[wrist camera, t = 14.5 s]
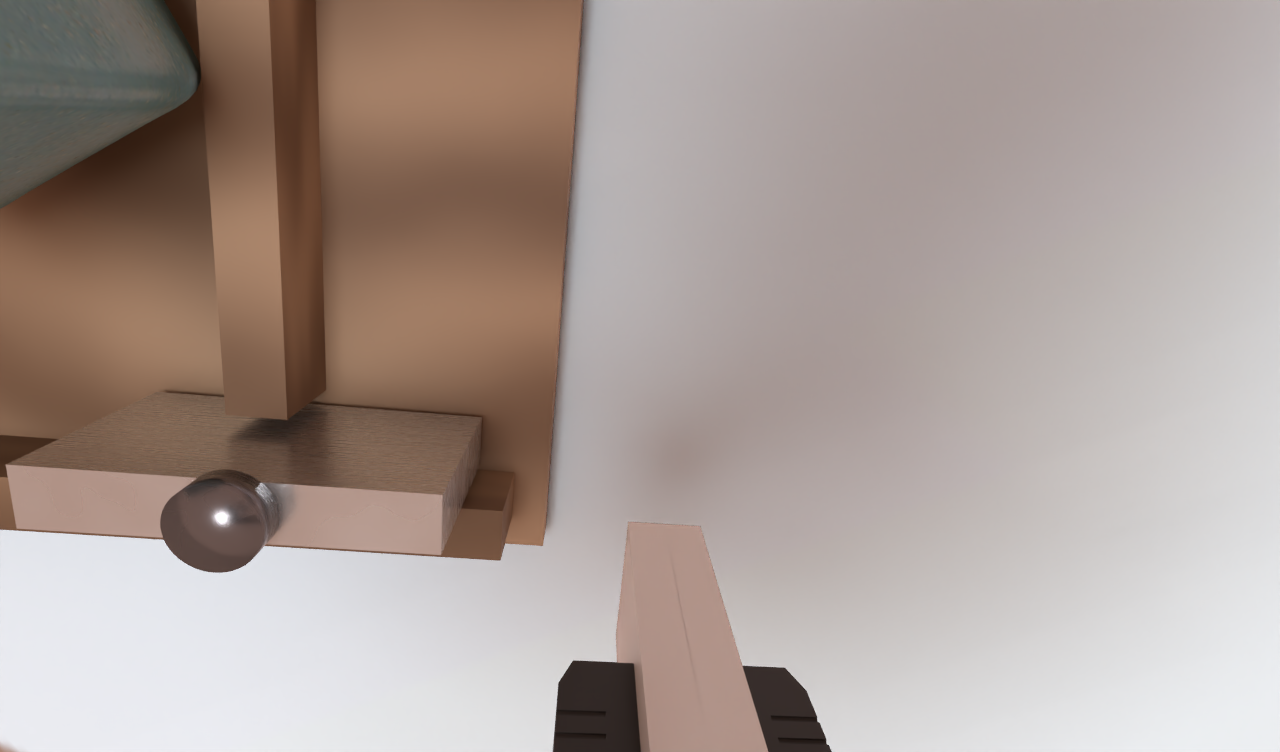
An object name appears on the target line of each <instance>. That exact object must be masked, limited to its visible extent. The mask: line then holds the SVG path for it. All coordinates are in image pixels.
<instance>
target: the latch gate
mask: <svg viewBox="0 0 1280 752" xmlns="http://www.w3.org/2000/svg"><path fill="white" fill-rule="evenodd" d="M481 427H482V417H472V416H459V415H447V414H434V413H421V412H408V411H396V410H383V409H370V408H357V407H345V406H332V405H319V404H307V405H306V406H305V407H303V408H302V409H301V410H300V411H298V412H297V413H296V414H294V415H293V416H292V417H290V418H289V419H288V420H283V419H270V418H257V417H244V416H231V415H226V414H225V400H224V397H217V396H205V395H192V394H179V393H166V392H156V393H154V394H151V395H149V396H147V397H145V398H143V399H141V400H139V401H137V402H135V403H133V404H131V405H129V406H127V407H124V408H122V409H120V410H118V411H116V412H114V413H112V414H110V415H108V416H106V417H104V418H102V419H99V420H97V421H95V422H93V423H91V424H89V425H87V426H85V427H83V428H81V429H79V430H77V431H75V432H72V433H70V434H68V435H66V436H64V437H62V438H60V439H58V440H56V441H54V442H52V443H50V444H48V445H45V446H43V447H41V448H39V449H37V450H35V451H33V452H31V453H29V454H27V455H25V456H23V457H21V458H18V459H16V460H14V461H12V462H10V463H8V464H6V469H7V475H8V481H9V487H10V493H11V499H12V505H13V510H14V516H15V522H16V528H17V529H31V530H47V531H63V532H79V533H95V534H111V535H127V536H143V537H159V538H163V539H164V541H165V543H166V544H167V546H168V547H169V549H170V550H171V551H172V552H173V554H174V555H176V556H177V557H178V558H179V559H180V560H182V561H183V562H184V563H186V564H188V565H190V566H192V567H194V568H196V569H199V570H203V571H207V572H229V571H233V570H236V569H238V568H241V567H242V566H244V565H246V564H247V563H248V562H250V561H251V560H252V559H253V558H254V557H255V555H256V554H257V553H258V552H259V551H260V550H261V549H262V548H263V547H264V546H265V545H266V544H271V545H287V546H303V547H319V548H335V549H351V550H367V551H383V552H399V553H415V554H431V555H441V554H442V552H443V549H444V547H445V545H446V543H447V540H448V538H449V536H450V533H451V531H452V529H453V526H454V524H455V522H456V519H457V517H458V515H459V512H460V510H461V508H462V505H463V503H464V501H465V498H466V496H467V494H468V491H469V489H470V487H471V484H472V482H473V480H474V477H475V475H476V473H477V470H478V468H479V466H480V452H481Z"/></svg>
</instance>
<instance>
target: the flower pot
mask: <svg viewBox="0 0 1280 752" xmlns="http://www.w3.org/2000/svg"><path fill="white" fill-rule="evenodd" d="M200 81H201V67H200V64H199V61H198V59H197V57H196V55H195V53H194V51H193V50H192V48H191V46H190V44H189V43H188V41H187V39H186V38H185V36H184V34H183V32H182V31H181V29H180V27H179V25H178V24H177V22H176V20H175V19H174V17H173V15H172V13H171V12H170V10H169V8H168V6H167V5H166V3H165V1H164V0H0V209H1V208H3V207H5V206H6V205H8V204H10V203H11V202H13V201H15V200H16V199H18V198H20V197H21V196H23V195H24V194H26V193H28V192H29V191H31V190H33V189H34V188H36V187H38V186H40V185H41V184H43V183H45V182H46V181H48V180H50V179H52V178H53V177H55V176H57V175H58V174H60V173H62V172H63V171H65V170H67V169H69V168H70V167H72V166H74V165H75V164H77V163H79V162H81V161H82V160H84V159H86V158H88V157H89V156H91V155H93V154H95V153H97V152H98V151H100V150H102V149H104V148H105V147H107V146H109V145H111V144H112V143H114V142H116V141H118V140H119V139H121V138H123V137H125V136H126V135H128V134H130V133H131V132H133V131H135V130H137V129H138V128H140V127H142V126H144V125H145V124H147V123H149V122H151V121H153V120H155V119H156V118H158V117H160V116H162V115H164V114H166V113H168V112H170V111H171V110H173V109H175V108H177V107H178V106H180V105H181V104H183V103H184V102H186V101H187V100H188V99H189V98H190V97H191V96H192V95H193V94H194V93H195V92H196V90H197V88H198V86H199V84H200Z"/></svg>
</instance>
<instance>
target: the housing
mask: <svg viewBox="0 0 1280 752" xmlns="http://www.w3.org/2000/svg"><path fill="white" fill-rule="evenodd" d="M164 1H165V3H166V5H167V6H168V8H169V10H170V12H171V13H172V15H173V17H174V19H175V20H176V22H177V24H178V25H179V27H180V29H181V31H182V32H183V34H184V36H185V38H186V39H187V41H188V43H189V44H190V46H191V48H192V50H193V51H194V53H195V55H196V57H197V59H198V61H199V64H200V67H201V81H200V84H199V86H198V88H197V90H196V92H195V93H194V94H193V95H192V96H191V97H190V98H189V99H188V100H187V101H186V102H184V103H183V104H181V105H180V106H178V107H177V108H175V109H173V110H171V111H170V112H168V113H166V114H164V115H162V116H160V117H158V118H156V119H155V120H153V121H151V122H149V123H147V124H145V125H144V126H142V127H140V128H138V129H137V130H135V131H133V132H131V133H130V134H128V135H126V136H125V137H123V138H121V139H119V140H118V141H116V142H114V143H112V144H111V145H109V146H107V147H105V148H104V149H102V150H100V151H98V152H97V153H95V154H93V155H91V156H89V157H88V158H86V159H84V160H82V161H81V162H79V163H77V164H75V165H74V166H72V167H70V168H69V169H67V170H65V171H63V172H62V173H60V174H58V175H57V176H55V177H53V178H52V179H50V180H48V181H46V182H45V183H43V184H41V185H40V186H38V187H36V188H34V189H33V190H31V191H29V192H28V193H26V194H24V195H23V196H21V197H20V198H18V199H16V200H15V201H13V202H11V203H10V204H8V205H6V206H5V207H3V208H1V209H0V529H3V530H19V531H35V532H51V533H67V534H83V535H99V536H115V537H131V538H147V539H163V538H159V537H143V536H127V535H111V534H95V533H79V532H63V531H47V530H31V529H17V528H16V522H15V516H14V510H13V505H12V499H11V493H10V487H9V481H8V475H7V469H6V464H8V463H10V462H12V461H14V460H16V459H18V458H21V457H23V456H25V455H27V454H29V453H31V452H33V451H35V450H37V449H39V448H41V447H43V446H45V445H48V444H50V443H52V442H54V441H56V440H58V439H60V438H62V437H64V436H66V435H68V434H70V433H72V432H75V431H77V430H79V429H81V428H83V427H85V426H87V425H89V424H91V423H93V422H95V421H97V420H99V419H102V418H104V417H106V416H108V415H110V414H112V413H114V412H116V411H118V410H120V409H122V408H124V407H127V406H129V405H131V404H133V403H135V402H137V401H139V400H141V399H143V398H145V397H147V396H149V395H151V394H154V393H156V392H166V393H179V394H192V395H205V396H217V397H224V400H225V414H226V415H231V416H244V417H257V418H270V419H283V420H288V419H289V418H290V417H292V416H293V415H294V414H296V413H297V412H298V411H300V410H301V409H302V408H303V407H305V406H306V405H307V404H319V405H332V406H345V407H357V408H370V409H383V410H396V411H408V412H421V413H434V414H447V415H459V416H472V417H482V427H481V452H480V466H479V468H478V470H477V473H476V475H475V477H474V480H473V482H472V484H471V487H470V489H469V491H468V494H467V496H466V498H465V501H464V503H463V505H462V508H461V510H460V512H459V515H458V517H457V519H456V522H455V524H454V526H453V529H452V531H451V533H450V536H449V538H448V540H447V543H446V545H445V547H444V549H443V552H442V554H441V555H431V554H415V553H399V552H383V551H367V550H351V549H335V548H319V547H303V546H287V545H271V544H266V545H265V546H276V547H292V548H308V549H324V550H340V551H356V552H372V553H388V554H404V555H420V556H437V557H453V558H469V559H485V560H501V556H502V552H503V549H504V545H505V543H507V544H523V545H539V546H543V541H544V535H545V529H546V517H547V503H548V489H549V476H550V462H551V448H552V434H553V420H554V406H555V392H556V378H557V364H558V350H559V336H560V322H561V309H562V295H563V281H564V267H565V253H566V239H567V225H568V211H569V197H570V183H571V169H572V155H573V141H574V128H575V114H576V100H577V86H578V72H579V58H580V44H581V30H582V16H583V2H584V0H164ZM163 540H164V539H163Z"/></svg>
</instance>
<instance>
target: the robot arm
mask: <svg viewBox="0 0 1280 752" xmlns="http://www.w3.org/2000/svg"><path fill="white" fill-rule="evenodd" d="M616 648H617V662H594V661H573V662H572V663H571V665H570V666H569V668H568V669H567V671H566V672H565V674H564V675H563V677H562V678H561V680H560V681H559V684H558V696H557V708H556V720H555V732H554V744H553V752H831V750H830V747H829V745H827V744H826V737H825V735H824V733H823V730H822V728H821V725H820V723H819V722H817V716H816V713H815V711H814V708H813V706H812V704H811V701H810V699H809V696H808V694H807V691H806V690H805V689H804V688H803V687H802V686H801V685H800V684H799V682H798V681H797V680H796V679H795V678H794V677H793V676H792V675H791V674H790V673H789V672H788V671H787V670H786V668H777V667H755V666H742V663H741V660H740V656H739V653H738V650H737V646H736V643H735V640H734V636H733V633H732V630H731V627H730V623H729V620H728V617H727V613H726V610H725V607H724V603H723V600H722V597H721V593H720V590H719V587H718V584H717V580H716V577H715V574H714V570H713V567H712V564H711V560H710V557H709V554H708V550H707V547H706V544H705V541H704V537H703V534H702V531H701V527H700V526H688V525H672V524H656V523H640V522H628V529H627V538H626V548H625V557H624V566H623V575H622V584H621V594H620V603H619V612H618V621H617V630H616Z"/></svg>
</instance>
